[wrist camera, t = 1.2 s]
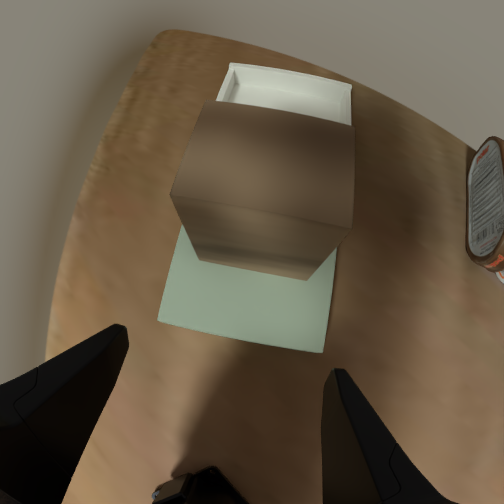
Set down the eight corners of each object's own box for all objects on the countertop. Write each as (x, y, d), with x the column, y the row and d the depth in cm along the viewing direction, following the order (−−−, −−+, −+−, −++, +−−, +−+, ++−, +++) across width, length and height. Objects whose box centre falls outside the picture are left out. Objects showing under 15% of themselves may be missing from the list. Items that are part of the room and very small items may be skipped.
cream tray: (343, 160, 28) (352, 142, 25) (210, 135, 28) (208, 115, 26) (344, 102, 31) (351, 84, 28) (230, 82, 31) (230, 62, 28)
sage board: (316, 352, 22) (322, 352, 21) (163, 322, 23) (157, 320, 21) (337, 159, 28) (343, 146, 26) (216, 136, 28) (215, 123, 26)
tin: (478, 282, 25) (535, 258, 17) (457, 272, 25) (515, 244, 17) (479, 170, 29) (517, 133, 21) (461, 159, 29) (497, 119, 21)
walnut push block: (306, 281, 22) (352, 228, 13) (199, 260, 22) (169, 194, 13) (316, 208, 24) (355, 126, 14) (217, 189, 24) (205, 99, 15)
